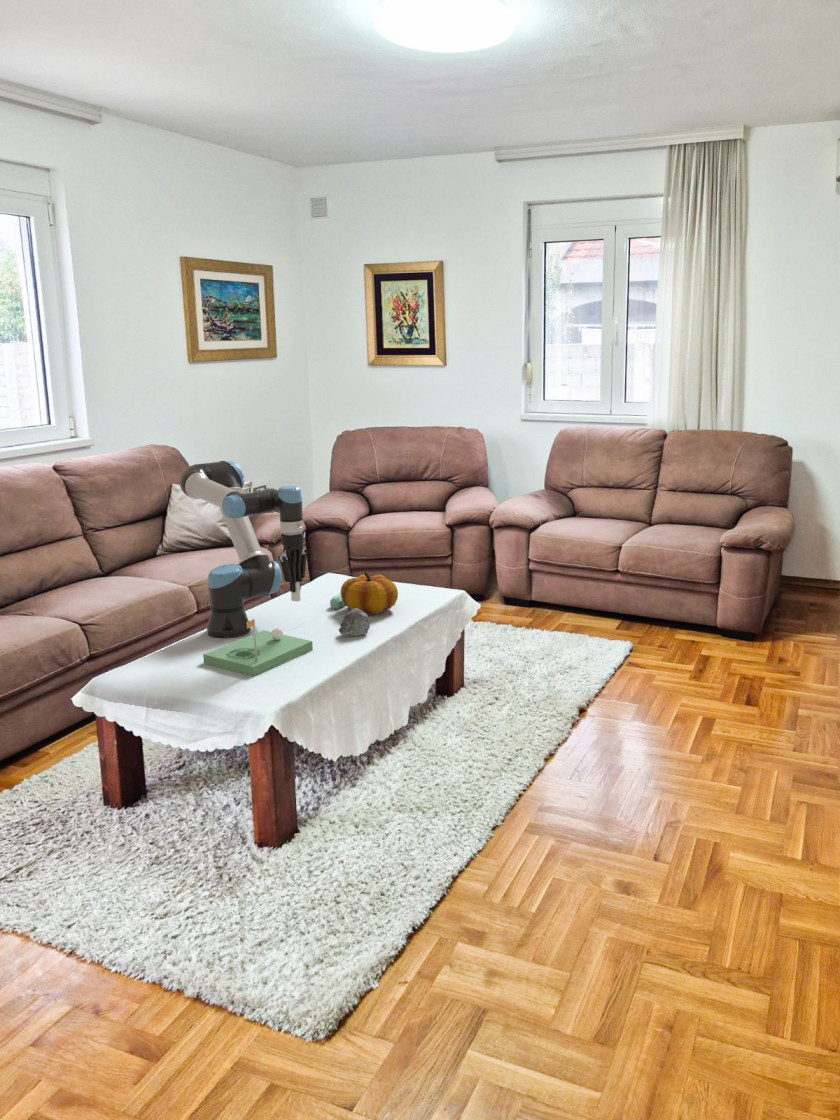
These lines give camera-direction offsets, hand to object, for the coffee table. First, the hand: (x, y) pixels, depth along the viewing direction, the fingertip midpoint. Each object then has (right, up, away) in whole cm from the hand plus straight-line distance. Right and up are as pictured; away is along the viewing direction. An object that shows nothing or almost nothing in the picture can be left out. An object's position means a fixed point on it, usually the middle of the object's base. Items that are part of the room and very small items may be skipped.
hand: (296, 600), depth 312 cm
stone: (+20, -12, +10) cm, 25 cm away
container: (+14, -3, +49) cm, 51 cm away
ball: (-6, -11, -6) cm, 14 cm away
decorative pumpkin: (+23, -6, +35) cm, 43 cm away
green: (-11, -18, -12) cm, 25 cm away
